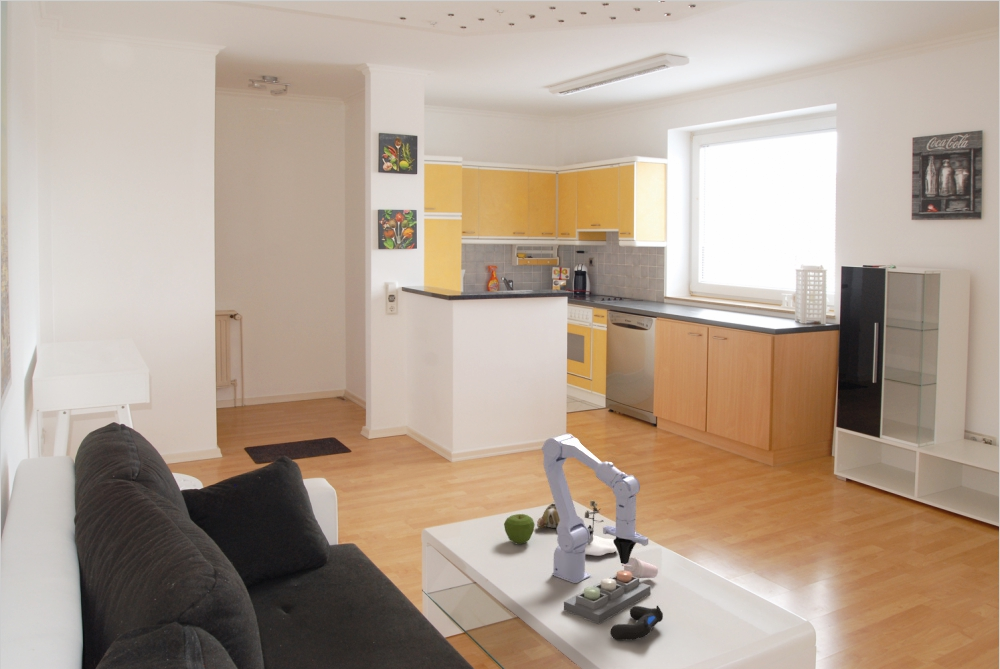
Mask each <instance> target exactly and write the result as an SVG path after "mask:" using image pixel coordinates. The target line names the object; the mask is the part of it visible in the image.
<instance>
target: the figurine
mask: <svg viewBox="0 0 1000 669" xmlns="http://www.w3.org/2000/svg"><path fill="white" fill-rule="evenodd" d="M589 503H590V504H589V506H590V507H592V511H591V512H590V511H589V510H586V511H585V512H584V519H589V520H592V525H590V524H589V525H588V527H587V528H588V530H589V532H590V539H589V541H588V542H587V543H586V547H585V555H591V556H599V557H600V556H603V555H606V554H609V553H610V554H611V553H612V554H613V553H614V552H616V551H617V552H618V550H617V548H616V546H615V544H614V539H613V538H603V537H601V536H598V535H594V532H595V530H594V526H595V525H594V524H595V522H596V523H604V522H605V521H604V519H601V520H595V515H596V514H598V513H601V512H600V511H601V508H599V509H597V506H598V503H597V502H596V501H595V500H590V502H589ZM591 515H592V517H590V516H591Z"/></svg>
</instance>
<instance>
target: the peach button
mask: <svg viewBox="0 0 1000 669" xmlns="http://www.w3.org/2000/svg"><path fill="white" fill-rule="evenodd" d="M616 574H617V581H620V582H623V583H629V582H631V581H632V573H631V572H629V571H624V570H618V571H617V572H616Z"/></svg>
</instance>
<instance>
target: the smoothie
mask: <svg viewBox="0 0 1000 669" xmlns="http://www.w3.org/2000/svg"><path fill="white" fill-rule="evenodd" d="M621 566H622V567H624V568H623V571H629V572H631V573H632V576H634V577H637V578H639V579H653V578H654V579H655V578H656V577H657V575H658V573H659V572H658V567H657V566H656V565H655V564H652V563H648V562H646V561H643V560H641V559H639V558H637V557H631V556H630V558H629V562H628V563H626V564H622V563H621Z"/></svg>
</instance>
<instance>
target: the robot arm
mask: <svg viewBox="0 0 1000 669" xmlns="http://www.w3.org/2000/svg"><path fill="white" fill-rule="evenodd" d="M541 450H542V454H543V463H542V464H543V469H544V471H545V475H546V478H547V482H548V485H549V488H550V491H551V495H552V498H553V502H555V506H556V509H557V512H558V516H559V519H560V522H559V524H558V526H557V527H556V532H557V537H556V538H557V540H556V541H557V544H558V545H557V546H556V548H555V550H554V553H553V572H552V573H551V576H553V575H554V576H553V577H557V578H559V579H562V580H565V581H567V582H570V583H573V584H577V583H581V582H582V581H583V580H585V579H587V578H589V577H591V574H590V573H587V572H586V554H585V547H586V543H587V542H588V541H589V539H590V532H589V530H588V527H587V525H586V524H585V522H584V519H583V518H581V517H580V516H579V515H577V512H576V508H575V505H574V502H573V498H572V495H571V492H570V488H569V485H568V481H567V479H566V475H565V472H564V471H565V470H564V469H563V466H564V464H565V462H566V460H567V459H569V458H570V459H571V458H575V459H576V460H577V461H578V462H581V463H582V464H583V465H585V466H586V467H588V468H589V469H591V470H592V471H594V472H595V473H594V474H595V477H596V478H597V479H599V480H600V481H601V482H602V483H604V484H605V485H606V486H608V487H609V488H610V489H611V490H612V493H613V495H614V497H615V526H609V525H606V526H603V527H602V534H603V535H610V536H613V537H615V538H614V539H613V540H614V544H615V546H616V548H617V553H618V556H619V559H620V563H621V565H622V564H624V565H625V564H626V563H628V562H629V558H631V554H632V551H633V549H634V547H636V544H639V545H641V546H643V547H646V546H648V545H649V537H648V536H647V537H646V536H645V535H642V534H640V533H638V532H636V518H637V515H636V514H637V513H636V512H637V494H638V493H639V492H640V489H641V484H640V482H639V479H638V478H636V477H635V476H634V475H633V474H626V473H625V472H624V471H621V470H620V469H619V468H617V467H616V466H615V464H614V462H612V461H607V460H606V461H601V460H600V459H599V458H598V457H597V456H595V454H593V453H592V452H591V451H589V450H588V449H587V448H586V447H585V446H584V445H582V444H581V442H580V440H579V438H576V437H575V436H573V434H572V433H564V434H562V435H561V434H560V435H559V436H554V437H549V438H547V439H546V440H545V441H544V443H543V445H542V447H541Z"/></svg>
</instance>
